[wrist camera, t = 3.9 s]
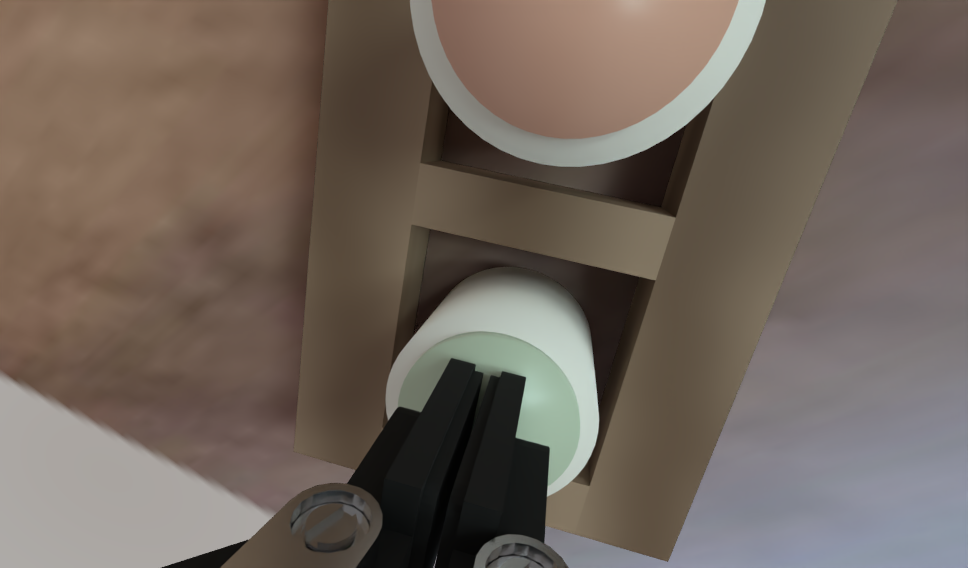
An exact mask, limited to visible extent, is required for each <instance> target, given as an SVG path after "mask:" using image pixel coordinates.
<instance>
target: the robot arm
mask: <svg viewBox="0 0 968 568" xmlns="http://www.w3.org/2000/svg"><path fill="white" fill-rule="evenodd" d="M475 367H476V364H473V363H469V362H465V361H461V360H458V359H454V358H451V359H450V361H449V363H448V365H447V366H446V368H445V370H444V372H443V374H442V375H441V377H440V379H439V381H438V383H437V384H436V386H435V388H434V390H433V392H432V394H431V395H430V397H429V399H428V401H427V403H426V404H425V406H424V408H423V410H422V412H419V411H416V410H412V409H408V408H404V407H401V406H400V407H398V408H397V409H396V410H395V411H394V413H393V414H392V416H391V417H390V419H389V420H388V422H387V424H386V425H385V427H384V428H383V430H382V431H381V433H380V434H379V436H378V437H377V439H376V440H375V442H374V443H373V445H372V446H371V448H370V449H369V451H368V453H367V454H366V456H365V457H364V459H363V460H362V462H361V463H360V465H359V466H358V468H357V469H356V471H355V472H354V474H353V475H352V477H351V478H350V480H349V482H348V483H347V484H343V483H329V484H323V485H317V486H314V487H312V488H310V489H307V490H305V491H302V492H301V493H300V494H298V495H297V496H296V497H294V498H293V499H291V500H290V501H289V502H288V503H287V504H286V505H285V506H284V507H283V508H282V509H281V510H280V511H279V512H278V513H277V514H276V515H275V516H273V517H272V518H271V519H270V520H269V521H268V522H267V523H266V524H265V525H264V526H263V527H262V528H261V529H260V530H259V531H258V532H257V533H256V534H255V535H254V536H253V537H252V538H251V539H249V540H246V541H243V542H240V543H237V544H233V545H230V546H227V547H224V548H221V549H218V550H215V551H212V552H209V553H205V554H202V555H199V556H196V557H193V558H190V559H187V560H184V561H181V562H177V563H174V564H171V565H168V566H165V567H162V568H433V566H434V563H435V560H436V564H435V568H568V566H567V565H566V563H565V562H564V560H563V559H562V558H561V557H560V556H559V555H558V554H557V553H556V552H555V551H554V550H553V549H552V548H551V547H549V546H547V545H546V544H544V538H545V521H546V505H547V488H548V472H549V456H550V448H549V446H545V445H541V444H537V443H534V442H530V441H526V440H523V439H519V438H516V432H517V427H518V421H519V416H520V410H521V405H522V399H523V394H524V388H525V382H526V377H524V376H520V375H516V374H512V373H508V372H504V371H502V373H501V376H500V377H497V376H493V375H491V376H490V379H489V382H488V385H487V388H486V391H485V394H484V397H483V400H482V403H481V406H480V409H479V412H478V414H477V417H476V420H475V423H474V426H473V421H474V416H475V412H476V407H477V402H478V398H479V393H480V389H481V384H482V379H483V373H482V372H478V371H475ZM472 426H473V429H472ZM471 430H472V432H471ZM437 554H438V555H437ZM436 557H437V559H436Z"/></svg>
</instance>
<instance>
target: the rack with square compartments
mask: <svg viewBox="0 0 968 568" xmlns="http://www.w3.org/2000/svg"><path fill="white" fill-rule="evenodd" d="M897 1H898V0H766V2H765V5H764V9H763V13H762V16H761V18H760V21H759V23H758V26H757V28H756V31H755V33H754V36H753V38H752V41H751V43H750V45H749V46H748V48H747V50H746V52H745V54H744V56H743V58H742V59H741V61H740V63H739V65H738V66H737V68H736V69H735V71H734V72H733V74H732V75H731V77H730V78H729V79H728V81H727V82H726V84H725V85H724V87H723V88H722V89H721V90H720V91H719V92H718V94H717V95H716V96H715V97H714V98H713V99H712V100H711V102H710V103H709V104H708V105H707V106H706V107H705V108H704V109H703V110H702V111H701V112H700V113H699V114H697V115H696V116H695V117H694V118H693V119H692V120H691V121H690V122H689V123H688V124H687V125H686V128H685V131H684V134H683V138H682V141H681V144H680V147H679V151H678V154H677V157H676V160H675V163H674V167H673V170H672V173H671V176H670V180H669V183H668V186H667V189H666V193H665V196H664V199H663V202H662V206H661V207H658V206H653V205H648V204H644V203H639V202H634V201H629V200H625V199H620V198H615V197H611V196H606V195H601V194H596V193H592V192H587V191H582V190H578V189H573V188H568V187H563V186H559V185H554V184H549V183H544V182H540V181H535V180H530V179H526V178H521V177H516V176H511V175H507V174H502V173H497V172H493V171H488V170H483V169H478V168H474V167H469V166H464V165H460V164H455V163H450V162H445V161H441V156H442V150H443V144H444V137H445V131H446V125H447V118H448V112H449V106H448V105H447V103H446V102H445V101H444V99H443V98H442V96H441V95H440V94H439V92H438V90H437V88H436V87H435V85H434V83H433V81H432V79H431V78H430V76H429V74H428V71H427V69H426V67H425V64H424V62H423V59H422V57H421V54H420V51H419V47H418V44H417V40H416V37H415V33H414V28H413V22H412V15H411V9H410V0H329V1H328V14H327V27H326V40H325V53H324V66H323V79H322V92H321V105H320V117H319V130H318V143H317V156H316V169H315V182H314V195H313V208H312V221H311V234H310V247H309V259H308V272H307V285H306V298H305V311H304V324H303V337H302V350H301V363H300V376H299V389H298V402H297V414H296V427H295V440H294V452H296V453H300V454H303V455H307V456H310V457H313V458H317V459H320V460H324V461H327V462H330V463H334V464H337V465H341V466H344V467H347V468H351V469H354V470H356V469H357V468H358V466H359V465H360V463H361V462H362V460H363V459H364V457H365V456H366V454H367V453H368V451H369V449H370V448H371V446H372V445H373V443H374V442H375V440H376V439H377V437H378V436H379V434H380V433H381V431H382V430H383V428H384V427H385V425H386V424H387V422H388V417H387V413H386V400H385V399H386V387H387V382H388V378H389V374H390V372H391V369H392V366H393V364H394V362H395V361H396V359H397V357H398V355H399V354H400V352H401V351H402V350H403V349H404V347H405V346H406V345H407V343H408V342H409V341H410V340H411V339H412V337H413V334H414V328H415V321H416V315H417V309H418V302H419V296H420V290H421V283H422V277H423V271H424V264H425V258H426V252H427V245H428V239H429V233H430V229H433V230H438V231H442V232H446V233H451V234H455V235H460V236H464V237H468V238H473V239H477V240H481V241H486V242H490V243H494V244H499V245H503V246H507V247H512V248H516V249H521V250H525V251H529V252H534V253H538V254H542V255H547V256H551V257H555V258H560V259H564V260H569V261H573V262H577V263H582V264H586V265H590V266H595V267H599V268H603V269H608V270H612V271H617V272H621V273H625V274H630V275H634V276H638V277H639V280H638V283H637V287H636V290H635V293H634V296H633V300H632V303H631V306H630V309H629V313H628V316H627V319H626V322H625V326H624V329H623V332H622V335H621V339H620V342H619V345H618V348H617V351H616V355H615V358H614V361H613V364H612V368H611V371H610V374H609V377H608V381H607V384H606V387H605V390H604V394H603V397H602V400H601V403H600V407H599V410H598V411H599V428H598V435H597V439H596V444H595V447H594V449H593V452H592V454H591V456H590V458H589V460H588V461H587V463H586V465H585V466H584V468H583V469H582V470H581V471H580V473H579V474H578V475H577V476H576V477H575V478H574V479H573V480H572V481H571V482H570V483H569V484H568V485H566V486H565V487H563V488H562V489H560V490H559V491H557V492H555V493H553V494H551V495H549V496H548V497H547V505H546V521H545V526H548V527H552V528H555V529H558V530H562V531H565V532H569V533H572V534H575V535H579V536H582V537H586V538H589V539H592V540H596V541H599V542H603V543H606V544H609V545H613V546H616V547H620V548H623V549H626V550H630V551H633V552H637V553H640V554H643V555H647V556H650V557H654V558H657V559H660V560H664V561H667V562H668V560H669V558H670V556H671V553H672V551H673V548H674V546H675V543H676V541H677V538H678V536H679V534H680V531H681V529H682V526H683V524H684V521H685V519H686V516H687V514H688V512H689V509H690V507H691V504H692V502H693V499H694V497H695V494H696V492H697V490H698V487H699V485H700V482H701V480H702V477H703V475H704V472H705V470H706V468H707V465H708V463H709V460H710V458H711V455H712V453H713V450H714V448H715V446H716V443H717V441H718V438H719V436H720V433H721V431H722V429H723V426H724V424H725V421H726V419H727V416H728V414H729V411H730V409H731V407H732V404H733V402H734V399H735V397H736V394H737V392H738V389H739V387H740V385H741V382H742V380H743V377H744V375H745V372H746V370H747V367H748V365H749V363H750V360H751V358H752V355H753V353H754V350H755V348H756V345H757V343H758V341H759V338H760V336H761V333H762V331H763V328H764V326H765V323H766V321H767V319H768V316H769V314H770V311H771V309H772V306H773V304H774V301H775V299H776V297H777V294H778V292H779V289H780V287H781V284H782V282H783V279H784V277H785V275H786V272H787V270H788V267H789V265H790V262H791V260H792V257H793V255H794V253H795V250H796V248H797V245H798V243H799V240H800V238H801V236H802V233H803V231H804V228H805V226H806V223H807V221H808V218H809V216H810V214H811V211H812V209H813V206H814V204H815V201H816V199H817V196H818V194H819V192H820V189H821V187H822V184H823V182H824V179H825V177H826V174H827V172H828V170H829V167H830V165H831V162H832V160H833V157H834V155H835V152H836V150H837V148H838V145H839V143H840V140H841V138H842V135H843V133H844V130H845V128H846V126H847V123H848V121H849V118H850V116H851V113H852V111H853V108H854V106H855V104H856V101H857V99H858V96H859V94H860V91H861V89H862V86H863V84H864V82H865V79H866V77H867V74H868V72H869V69H870V67H871V64H872V62H873V60H874V57H875V55H876V52H877V50H878V47H879V45H880V43H881V40H882V38H883V35H884V33H885V30H886V28H887V25H888V23H889V21H890V18H891V16H892V13H893V11H894V8H895V6H896V3H897Z"/></svg>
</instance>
